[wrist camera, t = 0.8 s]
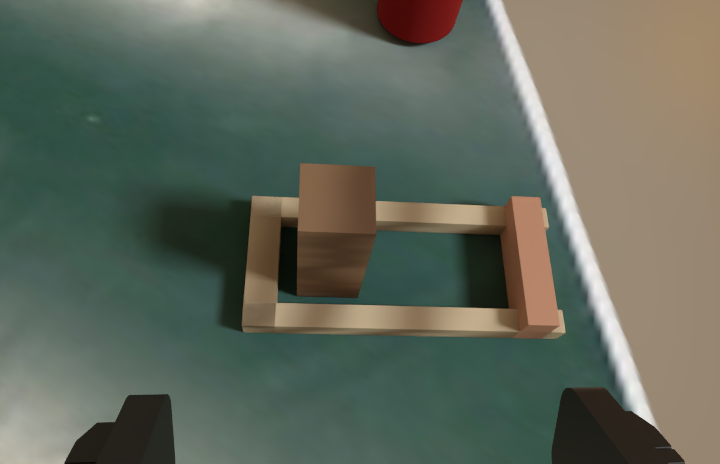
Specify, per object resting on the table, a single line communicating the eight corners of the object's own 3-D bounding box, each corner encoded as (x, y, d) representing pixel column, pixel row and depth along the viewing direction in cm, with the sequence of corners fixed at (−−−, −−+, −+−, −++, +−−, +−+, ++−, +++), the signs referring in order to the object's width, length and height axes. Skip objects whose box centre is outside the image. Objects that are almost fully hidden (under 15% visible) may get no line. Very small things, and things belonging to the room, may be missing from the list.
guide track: (243, 332, 37) (239, 318, 35) (253, 206, 41) (250, 184, 39) (556, 338, 39) (575, 326, 37) (537, 217, 43) (554, 198, 40)
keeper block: (296, 296, 39) (297, 231, 30) (299, 240, 40) (300, 163, 31) (357, 297, 39) (376, 233, 30) (357, 242, 41) (375, 166, 32)
